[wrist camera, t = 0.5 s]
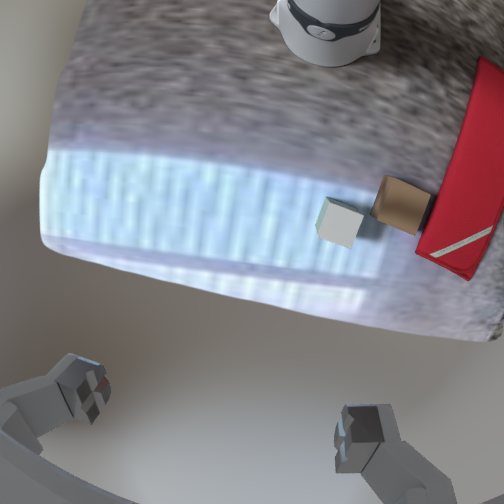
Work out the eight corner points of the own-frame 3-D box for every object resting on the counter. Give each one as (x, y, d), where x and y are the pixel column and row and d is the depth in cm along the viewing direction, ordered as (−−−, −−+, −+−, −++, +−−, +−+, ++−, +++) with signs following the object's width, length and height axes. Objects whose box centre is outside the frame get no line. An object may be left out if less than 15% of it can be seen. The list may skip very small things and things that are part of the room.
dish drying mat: (528, 102, 34) (538, 101, 30) (465, 278, 48) (474, 286, 44) (475, 57, 34) (485, 52, 30) (408, 247, 48) (415, 254, 44)
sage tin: (325, 195, 47) (330, 202, 40) (354, 207, 47) (364, 215, 40) (314, 225, 49) (317, 236, 42) (343, 236, 48) (350, 248, 42)
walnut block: (383, 174, 44) (393, 177, 40) (418, 190, 44) (430, 194, 40) (369, 213, 47) (377, 220, 42) (404, 228, 47) (415, 235, 42)
